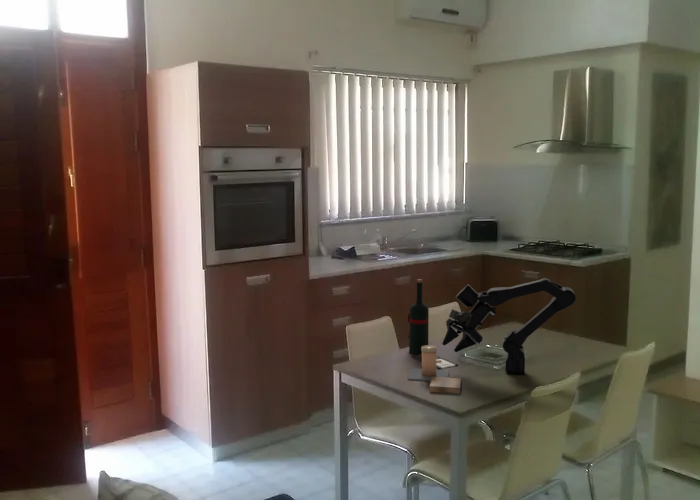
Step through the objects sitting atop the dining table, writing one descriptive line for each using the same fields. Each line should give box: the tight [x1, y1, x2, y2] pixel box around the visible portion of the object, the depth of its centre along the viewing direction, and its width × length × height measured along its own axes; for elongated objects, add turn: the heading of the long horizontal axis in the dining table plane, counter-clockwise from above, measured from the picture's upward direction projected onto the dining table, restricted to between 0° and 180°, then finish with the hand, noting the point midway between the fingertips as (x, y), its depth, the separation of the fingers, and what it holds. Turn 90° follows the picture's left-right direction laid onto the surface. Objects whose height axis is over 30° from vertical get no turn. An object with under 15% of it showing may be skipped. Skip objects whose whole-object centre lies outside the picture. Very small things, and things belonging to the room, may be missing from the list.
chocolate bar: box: [411, 354, 459, 370], centre depth 261 cm, size 9×1×18 cm
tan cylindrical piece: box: [421, 344, 438, 377], centre depth 242 cm, size 6×6×10 cm
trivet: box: [429, 377, 462, 394], centre depth 230 cm, size 10×10×2 cm
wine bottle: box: [407, 278, 430, 355], centre depth 272 cm, size 8×10×30 cm
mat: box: [407, 368, 450, 382], centre depth 243 cm, size 14×12×1 cm
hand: (448, 347), depth 244 cm, fingers open, 9 cm apart
